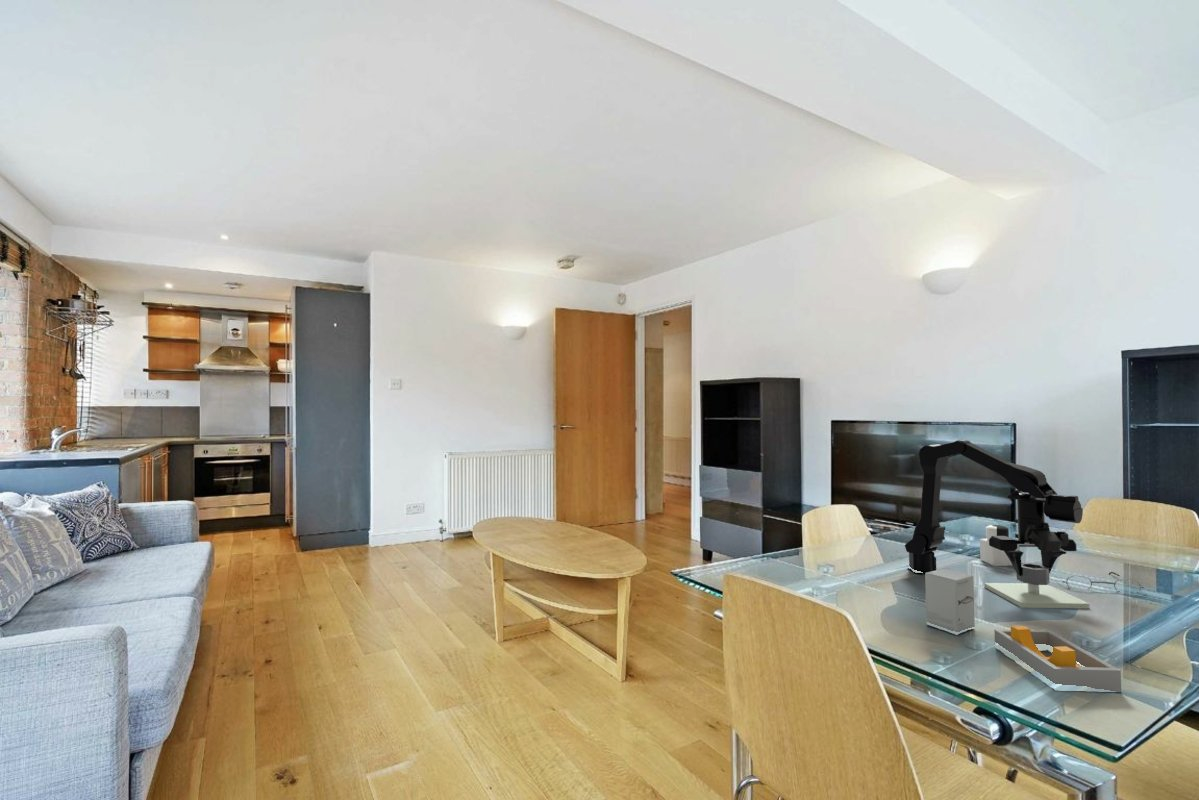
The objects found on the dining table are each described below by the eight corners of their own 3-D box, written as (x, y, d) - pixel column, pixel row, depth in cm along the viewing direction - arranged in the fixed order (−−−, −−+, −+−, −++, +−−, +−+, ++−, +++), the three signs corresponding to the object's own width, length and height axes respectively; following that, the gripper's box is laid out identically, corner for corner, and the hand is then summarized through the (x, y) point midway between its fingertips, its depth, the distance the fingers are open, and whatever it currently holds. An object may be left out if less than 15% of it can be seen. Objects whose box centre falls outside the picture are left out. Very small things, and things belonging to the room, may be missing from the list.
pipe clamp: (1085, 685, 103) (1084, 650, 103) (1063, 686, 103) (1062, 651, 103) (1031, 656, 115) (1030, 625, 115) (1011, 657, 114) (1010, 625, 115)
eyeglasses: (1064, 589, 155) (1063, 575, 155) (1037, 572, 173) (1036, 559, 173) (1146, 595, 149) (1145, 580, 149) (1109, 577, 167) (1108, 563, 167)
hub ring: (1028, 584, 146) (1027, 569, 146) (1012, 577, 152) (1012, 562, 152) (1054, 585, 145) (1054, 569, 145) (1037, 577, 151) (1037, 562, 151)
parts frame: (1055, 691, 101) (1054, 668, 101) (995, 648, 118) (994, 629, 119) (1121, 693, 99) (1120, 670, 100) (1050, 649, 117) (1049, 630, 117)
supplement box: (957, 636, 125) (955, 580, 125) (925, 625, 131) (923, 571, 132) (976, 629, 128) (974, 575, 128) (943, 619, 135) (942, 567, 135)
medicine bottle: (1003, 560, 183) (1001, 523, 184) (1017, 566, 176) (1015, 528, 176) (980, 560, 184) (978, 523, 184) (993, 566, 177) (991, 528, 177)
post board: (1021, 607, 141) (1020, 579, 141) (984, 587, 157) (983, 562, 157) (1089, 608, 140) (1088, 580, 140) (1045, 587, 156) (1044, 562, 156)
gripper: (1012, 523, 142) (1014, 584, 141) (1092, 523, 140) (1094, 585, 140) (987, 514, 153) (988, 571, 153) (1060, 514, 151) (1062, 572, 151)
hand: (1032, 575), depth 149 cm, fingers closed on hub ring, 6 cm apart
